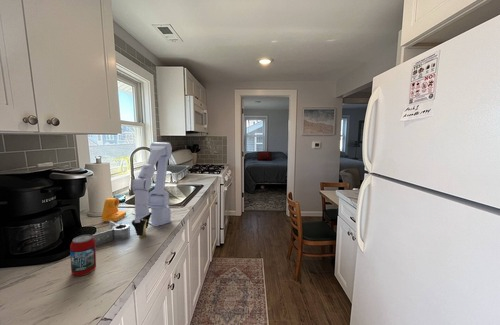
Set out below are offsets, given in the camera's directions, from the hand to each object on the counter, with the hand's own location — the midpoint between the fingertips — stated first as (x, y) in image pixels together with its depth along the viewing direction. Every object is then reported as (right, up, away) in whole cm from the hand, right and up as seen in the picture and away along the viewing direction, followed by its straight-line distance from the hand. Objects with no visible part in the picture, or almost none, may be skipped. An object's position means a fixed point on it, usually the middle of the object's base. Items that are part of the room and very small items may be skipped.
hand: (142, 231), depth 100 cm
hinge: (-14, -2, -2) cm, 15 cm away
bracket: (-25, 0, +20) cm, 32 cm away
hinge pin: (0, -2, 0) cm, 2 cm away
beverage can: (-7, -5, -26) cm, 28 cm away
